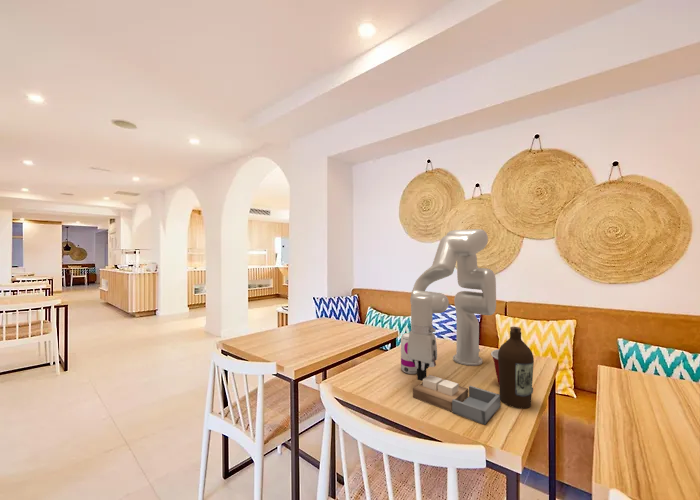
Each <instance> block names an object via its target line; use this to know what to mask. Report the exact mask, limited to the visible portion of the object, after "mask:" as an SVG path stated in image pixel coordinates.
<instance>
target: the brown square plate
mask: <svg viewBox="0 0 700 500" xmlns="http://www.w3.org/2000/svg"><path fill="white" fill-rule="evenodd" d="M412 397H413V399H417V400H419V401H422V402H424V403H427V404H430V405H433V406H435V407H438V408H440V409H444V410H446V411H449V412H450V413H451V412H452V400H453V399H455V400H458V401H461V402H463V401H465V400H466V399H467V398H468V397H469V387H468V388H467V387H465V386H462V385H458V392H456V393H455V394H454V395H453V396H450V395H447V394H444V393H441V392H438V389H437V390H436V391H435V390H432V389H430V388H427V387H424V386H423V382H422V383H420V384H418V385H417V386H415V387H413V388H412Z"/></svg>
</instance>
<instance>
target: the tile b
mask: <svg viewBox="0 0 700 500" xmlns="http://www.w3.org/2000/svg"><path fill="white" fill-rule="evenodd" d="M458 386H459V383H457V382H454V381H451V380H449V379H448V380H447V379H443V381H442V382H440V383H439V384H438V392H441V393H444V394H447V395H450V396H453V395H454V394H455V393H456V392H458Z"/></svg>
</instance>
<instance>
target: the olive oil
mask: <svg viewBox="0 0 700 500" xmlns="http://www.w3.org/2000/svg"><path fill="white" fill-rule="evenodd" d="M509 328H510V329H509V338H508V339H507V340H506V341H504V342H503V344H501V345H500V347H499V348H498V349H499V351H498V364H499V384H498V385H500V386H499V394H500V395H501V402H502V403H503V404H505V405H507V406H509V407H511V408H515V409H529V408H530V407H531V406H532V399H533V398H532V396H533V395H532V394H534V388H533V377H534V363H535V362H534V361H535V360H534V354H533V352H532V349H530V347H529V346H528V345H527V344H526V343H525V342H524V341H523V340H522V331H521V330H522V328H521V327H518V326H510V327H509Z"/></svg>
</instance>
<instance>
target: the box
mask: <svg viewBox="0 0 700 500" xmlns="http://www.w3.org/2000/svg"><path fill="white" fill-rule="evenodd" d="M501 402H502V401H501V395H500V393H495V392H493V391H490V390H486V389H482V388H480V387H476V386H472V385H469V386H468V398H466V399H465V400H464V401H463V402H461V401H458V400H455V399H453V400H452V414H454V415H457V416H459V417H461V418H465V419H467V420H470V421H472V422H475V423H478V424H481V425H484V426H485V425H487V423H488V422H489V421H490V420H491V419H492V417H493V416H494V415H495V414H496V413H497V412H498V410H500V408H501V407H502V406H501Z"/></svg>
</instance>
